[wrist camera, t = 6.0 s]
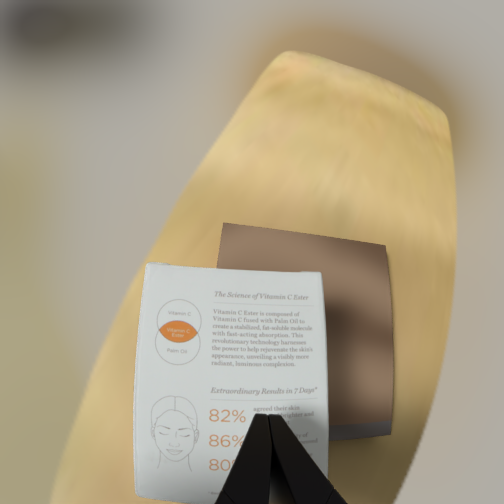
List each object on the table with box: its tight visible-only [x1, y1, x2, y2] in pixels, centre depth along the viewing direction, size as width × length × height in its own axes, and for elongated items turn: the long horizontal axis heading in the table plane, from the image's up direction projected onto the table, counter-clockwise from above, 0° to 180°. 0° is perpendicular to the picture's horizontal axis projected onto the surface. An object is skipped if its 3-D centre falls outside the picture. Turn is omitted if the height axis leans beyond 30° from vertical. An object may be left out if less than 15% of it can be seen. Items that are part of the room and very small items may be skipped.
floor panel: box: [217, 223, 393, 441], centre depth 18 cm, size 14×12×2 cm
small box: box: [133, 262, 329, 504], centre depth 13 cm, size 8×6×10 cm
